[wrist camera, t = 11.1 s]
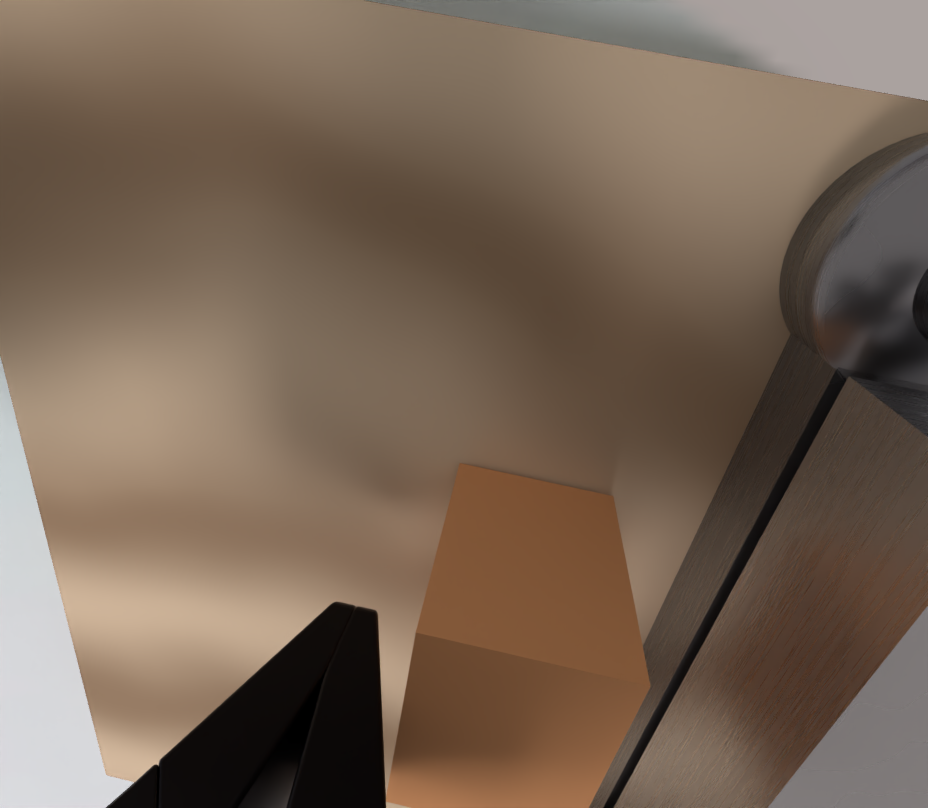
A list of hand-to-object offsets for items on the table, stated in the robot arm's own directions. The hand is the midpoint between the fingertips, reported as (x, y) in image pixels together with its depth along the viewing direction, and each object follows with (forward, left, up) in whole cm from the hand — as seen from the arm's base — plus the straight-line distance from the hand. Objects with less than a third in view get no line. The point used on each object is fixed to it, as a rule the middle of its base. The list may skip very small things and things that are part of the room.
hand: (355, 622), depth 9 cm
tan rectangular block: (0, -3, -2) cm, 4 cm away
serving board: (-2, -1, -4) cm, 4 cm away
